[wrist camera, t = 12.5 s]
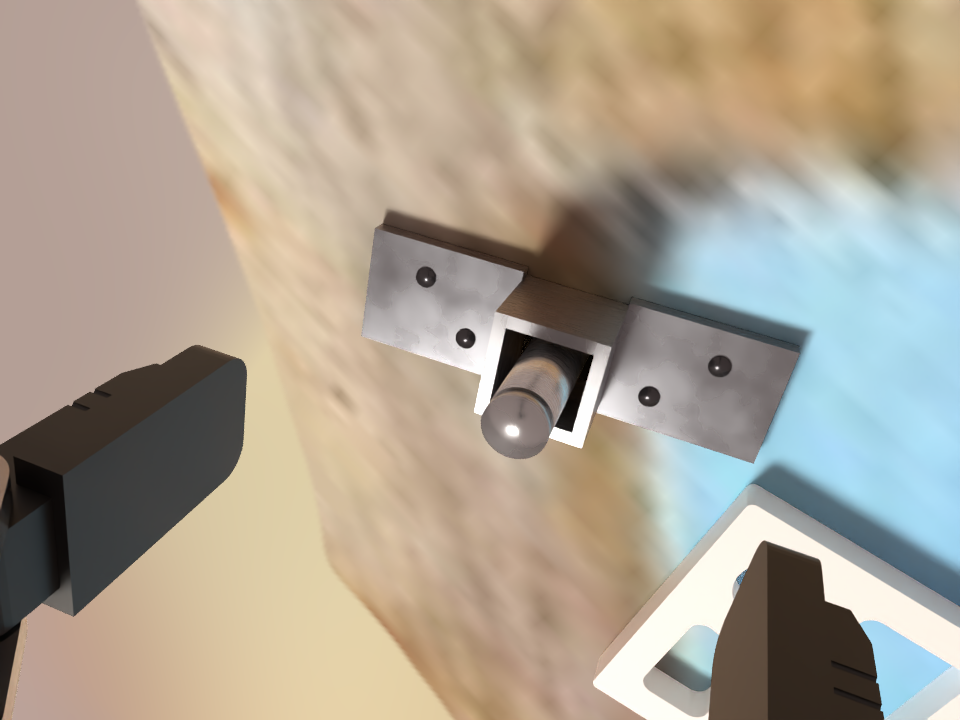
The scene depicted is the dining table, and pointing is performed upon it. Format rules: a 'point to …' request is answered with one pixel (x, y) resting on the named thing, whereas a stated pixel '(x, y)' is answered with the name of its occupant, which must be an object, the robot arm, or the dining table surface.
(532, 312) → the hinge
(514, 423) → the pin
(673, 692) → the holder
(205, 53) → the dining table surface
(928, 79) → the dining table surface
